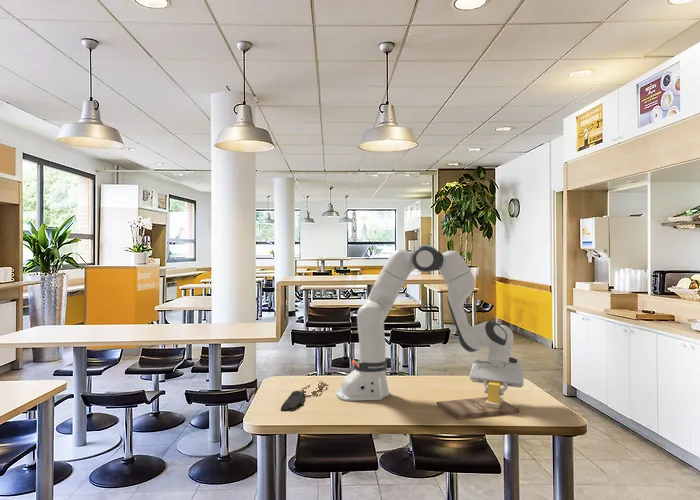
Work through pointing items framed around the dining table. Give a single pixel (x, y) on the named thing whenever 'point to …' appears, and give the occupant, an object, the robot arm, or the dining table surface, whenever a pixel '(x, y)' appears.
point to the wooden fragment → (316, 388)
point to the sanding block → (494, 395)
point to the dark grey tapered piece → (293, 401)
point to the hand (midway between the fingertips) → (493, 393)
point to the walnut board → (474, 408)
